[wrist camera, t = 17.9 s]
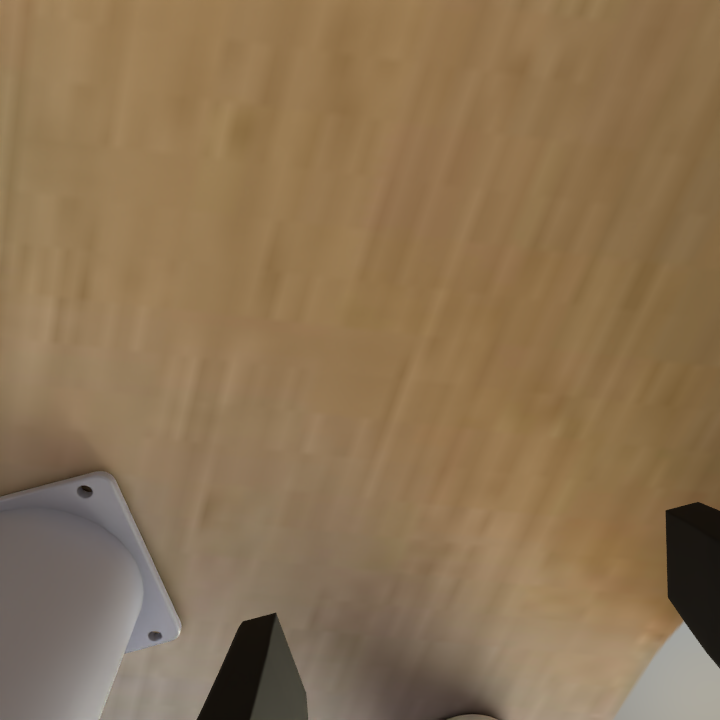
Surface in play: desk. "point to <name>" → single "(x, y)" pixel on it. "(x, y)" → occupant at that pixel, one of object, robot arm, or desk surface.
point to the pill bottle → (472, 717)
